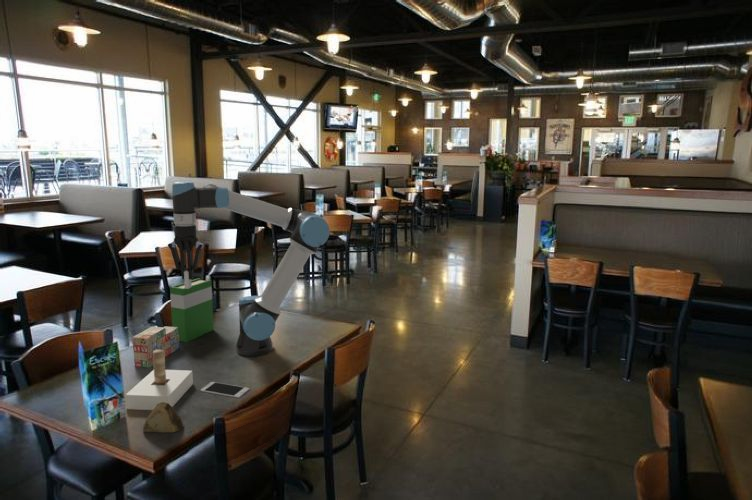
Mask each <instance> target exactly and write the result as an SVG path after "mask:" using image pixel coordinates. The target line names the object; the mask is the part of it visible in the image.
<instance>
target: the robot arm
mask: <svg viewBox="0 0 752 500" xmlns="http://www.w3.org/2000/svg"><path fill="white" fill-rule="evenodd" d="M171 186H172V188H171V191H172V193H171V194H172V195H171V196H172V209H173V211H172V213H173V224H174V226H173V232H174V238H173V241H172V242H169V243H168V244H167V247H168V248H169V250H170V252H171V255H172V259H173V262H174V265H175V269H176V270H180V272H181V279H182V280H183V281H184V282H183V283H185V289H189V288H191V287H192V284H191V280H194V278H195V277H194V270H197V269H198V268H199V265H200V260H201V256H202V250H203V248H204V246H205V243H202V242H200V241H199V240H198V238H197V225H196V223H197V218H196V209H225V210H227V211H230V212H234V213H237V214H240V215H243V216H247V217H250V218H251V219H252V218H253V219H256V220H259V221H263V222H265V223H269V224H272V225H275V226H278V227H281V228H282V230H283V231H286V232H289V233H291V235H290V237H289V242H290V245H289V246H288V248H287V250H286V252H285V254H284V255H283V257H282V258H281V261H280V262H279V264H278V265H277V267H276V269H275V270H274V272H273V274H272V276H271V278H270V279H269V281H268V283H267V285H266V286H265V287H264V290H263V291H262V294H260V295H250V296H249V295H248V296H247V295H246V296H243V297H242V296H241V297H240V298H239V300H238V313H239V314H238V316H239V317H238V318H239V320H238V321H239V334H238V338H237V341H236V344H235V352H236V353H237V354H238V355H241V356H244V357H245V356H246V357H257V356H263V355H267V354H269V353H270V352H272V351H273V347H274V346H273V341H272V335H273V334H274V332H275V330H276V322H277V320H278V319H279V317H280V315H281V313H282V312H281V308H280V307H281V305H282V304H283V302H284V301H285V299H286V297H287V295H288V293H289V291H291V288H292V287H293V285H294V283H295V282H296V280H297V278H298V276H299V274H300V273H301V272H302V269H303V268H304V266H305V264H306V263H307V261H308V259H309V258H310V256H311V255H314V254H316V253H317V252H318V250H319V247H320V246H322V245H324V244H325V243H326V242H327V241H328V239H329V236H330V231H331V230H330V226H329V224H328V222H327V220H326V219H325V218H324V217H323V216H321V215H318V214H316V213H315V212H311V211H307V210H301V209H296V208H293V207H288V208H285V207H281V206H279V205H276V204H272V203H270V202H267V201H264V200H261V199H257V198H254V197H251V196H248V195H245V194H241V193H238V192H235V191H232V190H230V189H229V188H227V187H223V186H217V185H215V184H212V183H211V184H209V183H208V184H205V185H204V186H203V187H199V186H198V187H196V186H195V183H194V182H192V181H175V182H174V183H172V185H171ZM177 248H178V249H177ZM194 248H196V249H195V254H194Z"/></svg>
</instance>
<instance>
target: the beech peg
mask: <svg viewBox="0 0 752 500" xmlns="http://www.w3.org/2000/svg"><path fill="white" fill-rule="evenodd" d="M153 364H154V365H153V370H154V379H155V381H154V383H155V385H165V384H166V371H165V370H166V357H165V355H164V350H155V351H153Z"/></svg>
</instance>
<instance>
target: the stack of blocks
mask: <svg viewBox="0 0 752 500" xmlns="http://www.w3.org/2000/svg"><path fill="white" fill-rule="evenodd" d="M132 348H133V359H134V361H133V362H134V367H136V368H137V367H138V368H139V367H140V368H147V369H149V368H152V367H154V364H153V351H155V350H164V355H165V358H166V357H168V356H169V355H171V354H172V353H174V352H176V351H177V350H178V349H180V341H179V333H178V327H172V326H165V325H164V326H162V327H160V326H150V327H149V328H147V329H145V330H143V331H141V332H140V333H138V334H136V335H134V336H132Z"/></svg>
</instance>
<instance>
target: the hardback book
mask: <svg viewBox="0 0 752 500" xmlns="http://www.w3.org/2000/svg"><path fill="white" fill-rule="evenodd" d="M212 283H213V282H212V279H208V280H202V279H201V278H200V277H197V278H193V279H191V284H192V287H191V288H189V289H185V282H181V283H178V284H175V285H172V286H169V290H170V291H169V294H170V295H169V296H170V308H171V309H170V310H171V312H170V313H171V327H178V333H179V342H183V343H187V342H191V341H192V340H195V339H197V338H198V337H201V336H203V335H206V334H208V333H210V332H212V331H214V313H213V312H214V309H213V288H212V286H213V285H212ZM205 333H206V334H205Z"/></svg>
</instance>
